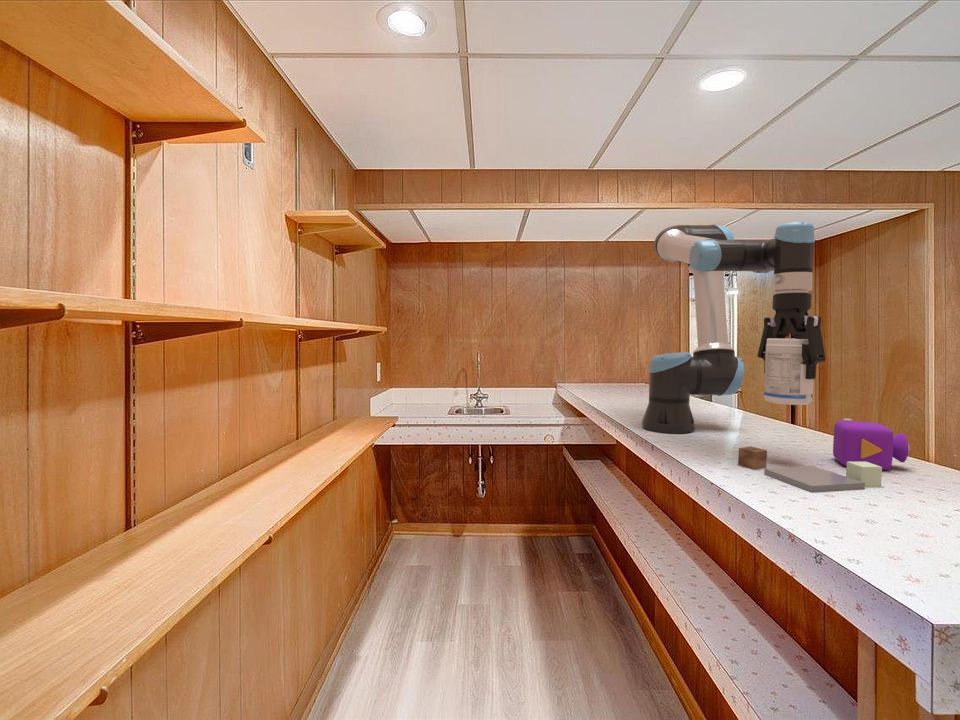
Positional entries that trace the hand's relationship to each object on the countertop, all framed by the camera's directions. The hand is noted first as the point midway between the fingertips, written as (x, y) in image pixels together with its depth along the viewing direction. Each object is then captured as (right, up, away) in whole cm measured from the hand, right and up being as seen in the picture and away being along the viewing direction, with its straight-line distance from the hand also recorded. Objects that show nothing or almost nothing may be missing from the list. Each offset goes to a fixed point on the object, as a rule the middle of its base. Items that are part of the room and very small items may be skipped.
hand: (787, 391), depth 116 cm
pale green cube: (+6, -18, -15) cm, 24 cm away
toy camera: (+18, -17, -1) cm, 25 cm away
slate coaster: (-3, -17, -13) cm, 22 cm away
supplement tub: (0, -3, 0) cm, 3 cm away
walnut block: (-9, -17, -2) cm, 19 cm away
